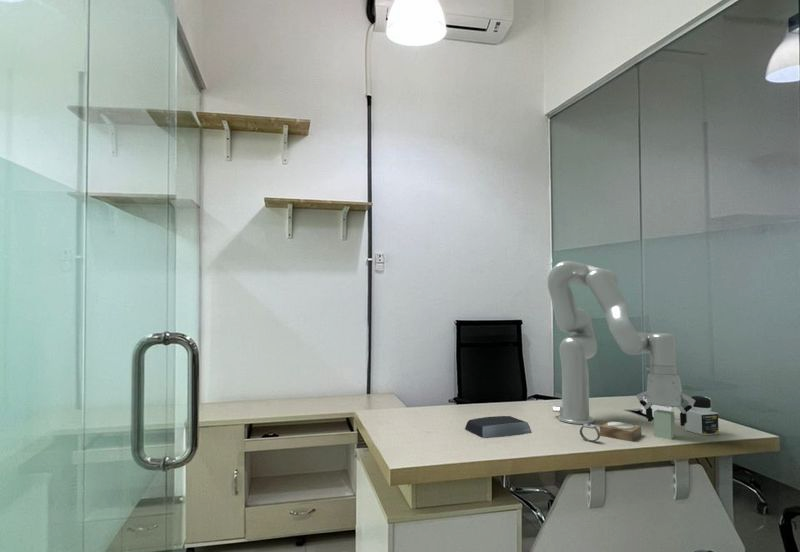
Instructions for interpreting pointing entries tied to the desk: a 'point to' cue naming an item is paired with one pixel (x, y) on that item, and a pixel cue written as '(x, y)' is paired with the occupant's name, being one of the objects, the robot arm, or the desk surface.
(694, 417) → the medicine bottle
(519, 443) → the desk surface
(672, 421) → the sage block
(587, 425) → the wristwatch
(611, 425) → the pedestal
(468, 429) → the external hard drive
